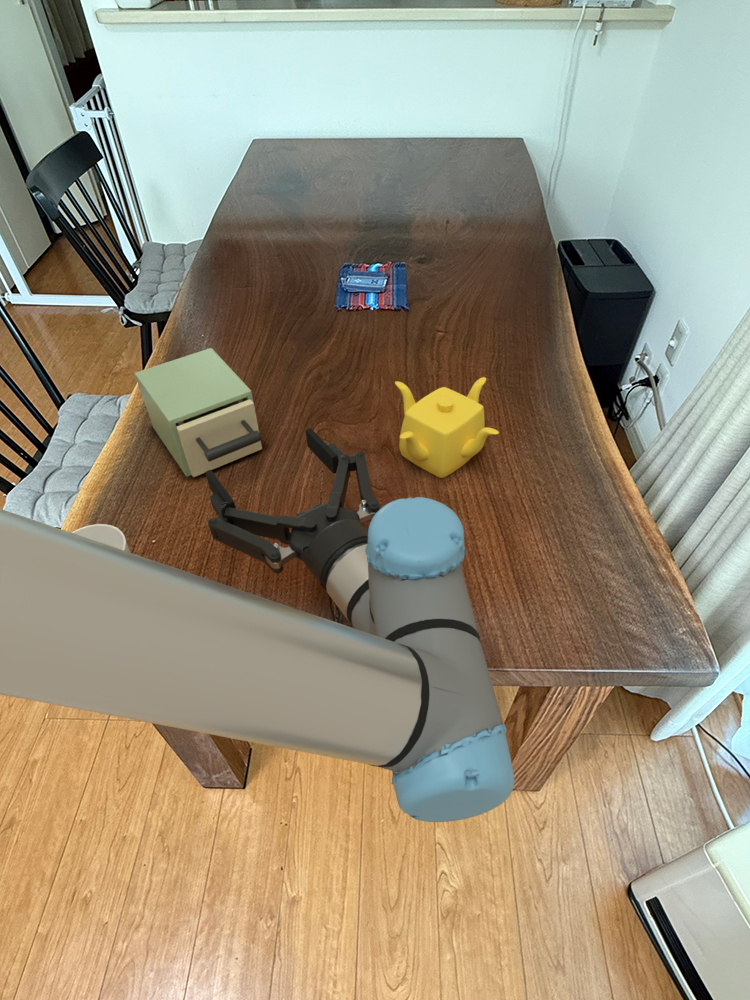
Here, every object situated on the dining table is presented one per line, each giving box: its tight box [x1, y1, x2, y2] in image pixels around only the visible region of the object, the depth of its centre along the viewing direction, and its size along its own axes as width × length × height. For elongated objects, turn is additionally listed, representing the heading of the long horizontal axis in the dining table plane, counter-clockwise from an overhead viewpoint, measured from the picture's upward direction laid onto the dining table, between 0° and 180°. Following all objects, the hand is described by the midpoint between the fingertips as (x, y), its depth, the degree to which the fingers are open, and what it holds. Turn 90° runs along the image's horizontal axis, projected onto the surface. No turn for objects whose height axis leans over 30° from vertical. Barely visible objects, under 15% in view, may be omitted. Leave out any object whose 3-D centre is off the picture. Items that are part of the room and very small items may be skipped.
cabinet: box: [134, 347, 254, 478], centre depth 93 cm, size 15×13×11 cm
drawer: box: [175, 399, 263, 478], centre depth 90 cm, size 18×11×9 cm, turn 34°
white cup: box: [71, 523, 132, 553], centre depth 70 cm, size 8×8×10 cm
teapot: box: [394, 376, 500, 479], centre depth 90 cm, size 15×14×10 cm
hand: (261, 457), depth 74 cm, fingers open, 13 cm apart
